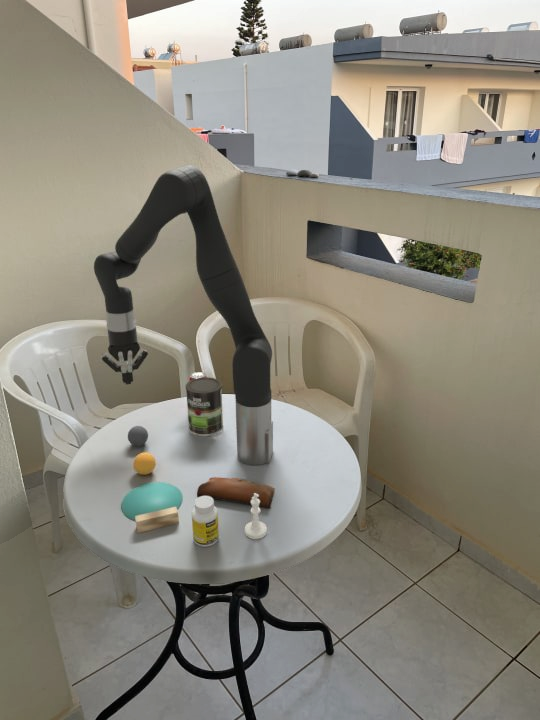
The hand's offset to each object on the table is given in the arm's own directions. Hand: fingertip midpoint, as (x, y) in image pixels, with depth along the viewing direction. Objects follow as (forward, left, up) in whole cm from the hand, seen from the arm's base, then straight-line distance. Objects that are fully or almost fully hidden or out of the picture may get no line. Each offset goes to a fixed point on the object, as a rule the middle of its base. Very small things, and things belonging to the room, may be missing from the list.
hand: (128, 383), depth 144 cm
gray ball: (-5, +8, -12) cm, 15 cm away
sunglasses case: (-37, +24, -15) cm, 47 cm away
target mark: (-18, +31, -15) cm, 39 cm away
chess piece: (-44, +36, -15) cm, 59 cm away
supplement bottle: (-34, +40, -15) cm, 55 cm away
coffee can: (-21, -4, -15) cm, 26 cm away
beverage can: (-16, -14, -15) cm, 26 cm away
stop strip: (-23, +38, -15) cm, 47 cm away
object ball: (-12, +20, -12) cm, 27 cm away
